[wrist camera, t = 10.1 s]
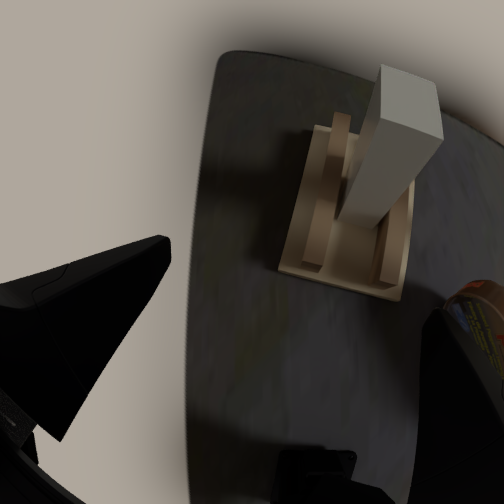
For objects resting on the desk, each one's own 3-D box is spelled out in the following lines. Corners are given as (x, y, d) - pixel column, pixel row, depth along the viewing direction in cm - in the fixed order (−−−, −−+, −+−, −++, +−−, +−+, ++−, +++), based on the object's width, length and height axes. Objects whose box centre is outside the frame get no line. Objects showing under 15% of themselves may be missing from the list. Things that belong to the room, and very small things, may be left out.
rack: (395, 301, 21) (416, 297, 17) (278, 271, 22) (276, 261, 18) (411, 157, 23) (426, 135, 19) (314, 130, 25) (317, 103, 21)
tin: (428, 301, 20) (487, 289, 12) (451, 282, 20) (511, 262, 12) (475, 426, 16) (526, 449, 8) (496, 405, 16) (548, 421, 8)
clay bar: (372, 229, 21) (443, 140, 9) (336, 220, 22) (380, 117, 10) (377, 186, 22) (434, 83, 10) (344, 177, 22) (380, 64, 10)
